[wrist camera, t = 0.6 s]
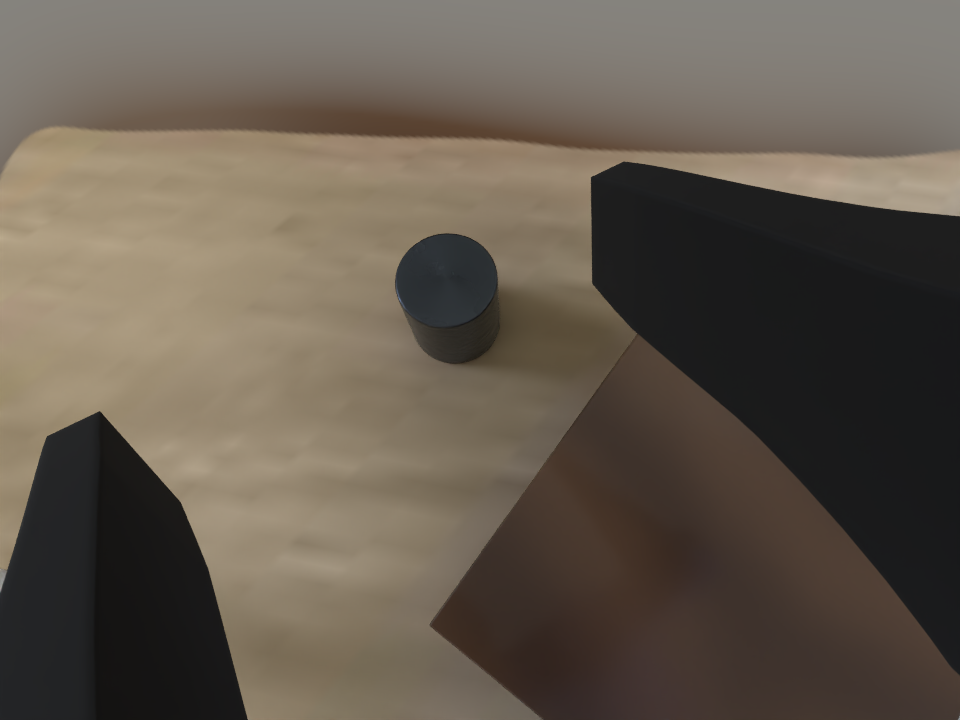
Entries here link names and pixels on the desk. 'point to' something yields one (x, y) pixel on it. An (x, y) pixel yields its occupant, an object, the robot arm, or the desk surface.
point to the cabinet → (685, 579)
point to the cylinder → (450, 296)
